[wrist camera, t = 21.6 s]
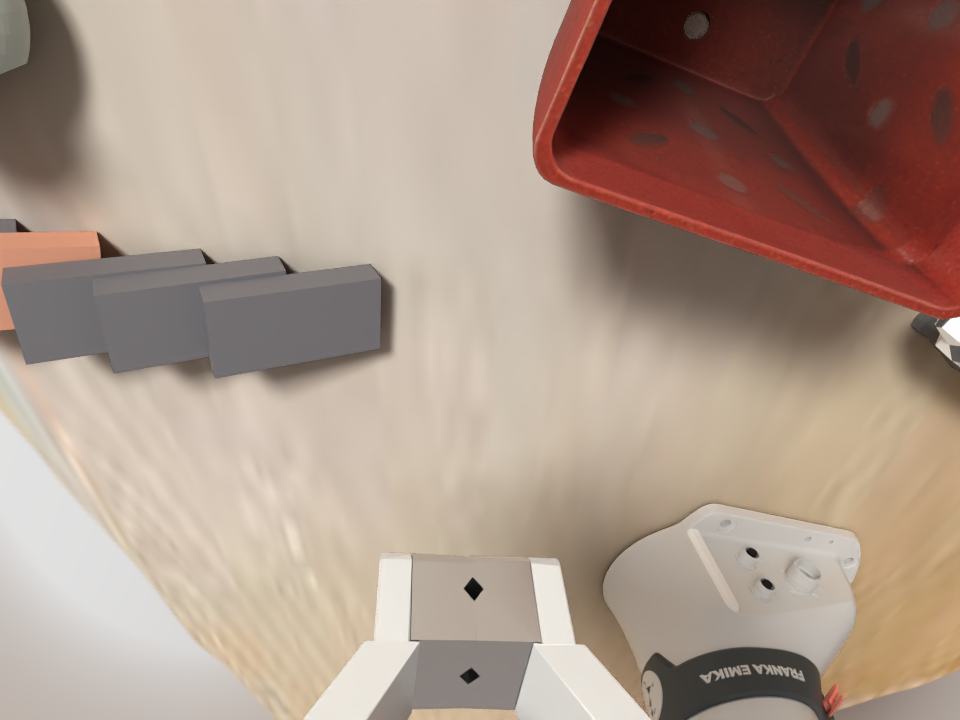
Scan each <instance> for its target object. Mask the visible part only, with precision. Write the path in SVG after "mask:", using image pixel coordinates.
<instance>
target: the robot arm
mask: <svg viewBox="0 0 960 720" xmlns="http://www.w3.org/2000/svg"><path fill="white" fill-rule="evenodd" d="M860 559H861V548H860V544H859V541H858V539H857V537H856V535H855V533H853V532H851V531H848V530H843V529H839V528H834V527H829V526H824V525H819V524H814V523H809V522H805V521H800V520H795V519H790V518H785V517H780V516H775V515H770V514H765V513H761V512H756V511H751V510H746V509H741V508H736V507H731V506H726V505H722V504H708V505H705V506H703V507H701V508H699V509H698V510H696V511H695V512H693V513H692V514H690V515H689V516H688V517H686V518H685V519H684V520H682V521H681V522H680V523H678V524H676V525H673V526H671V527H668V528H666V529H663V530H660V531H658V532H655V533H653V534H651V535H649V536H647V537H645V538H643V539H641V540H639V541H638V542H636V543H634V544H633V545H631V546H630V547H629V548H627V549H626V550H625V551H624V552H623V553H622V554H620V555H619V556H618V557H617V559H616V560H615V561H614V562H613V563H612V565H611V566H610V568H609V570H608V571H607V573H606V576H605V579H604V582H603V596H604V600H605V602H606V604H607V606H608V607H609V609H610V610H611V612H612V613H613V615H614V617H615V618H616V620H617V622H618V623H619V625H620V627H621V629H622V631H623V633H624V635H625V637H626V639H627V641H628V643H629V646H630V648H631V650H632V653H633V655H634V658H635V660H636V662H637V665H638V668H639V670H640V673H641V684H642V689H643V696H644V701H645V706H646V710H647V713H648V715H647V714H646V713H645V712H644V711H643V710H642V708H641V707H640V706H639V705H638V704H637V703H636V702H635V700H634V699H633V698H632V697H631V696H630V695H629V694H628V693H627V691H626V690H625V689H624V688H623V687H622V686H621V685H620V684H619V682H618V681H617V680H616V679H615V678H614V677H613V676H612V675H611V673H610V672H609V671H608V670H607V669H606V668H605V667H604V665H603V664H602V663H601V662H600V661H599V660H598V659H597V658H596V656H595V655H594V654H593V653H592V652H591V651H590V650H589V649H588V647H587V646H586V645H582V644H576V640H575V635H574V630H573V625H572V620H571V615H570V610H569V605H568V600H567V595H566V590H565V585H564V580H563V575H562V570H561V565H560V563H559V561H558V560H557V558H531V557H528V558H526V557H515V556H469V557H467V556H451V555H434V554H417V553H412V556H411V553H394V552H382V553H381V558H380V565H379V579H378V592H377V605H376V618H375V632H374V640H365V641H364V642H363V643H362V645H361V646H360V647H359V648H358V650H357V651H356V652H355V654H354V655H353V656H352V657H351V659H350V660H349V661H348V662H347V664H346V665H345V666H344V667H343V669H342V670H341V671H340V673H339V674H338V675H337V676H336V678H335V679H334V680H333V681H332V683H331V684H330V685H329V687H328V688H327V689H326V690H325V692H324V693H323V694H322V695H321V697H320V698H319V699H318V701H317V702H316V703H315V704H314V706H313V707H312V708H311V709H310V711H309V712H308V713H307V715H306V716H305V717H304V718H303V720H408V718H409V716H410V714H411V712H412V709H446V708H473V709H501V710H515V712H514V713H515V714H516V716H517V718H518V719H519V720H834V717H833V714H834V712H835V711H836V710H837V708H838V707H839V706H840V704H841V703H842V701H843V699H844V696H840V697H839V698H838V699H837V700H836V701H835V699H836V698H837V695H838V690H839V686H838V685H837V684H835V685H834V686H833V687H832V688H831V690H830V691H829V692H828V694H827V695H826V697H825V698H824V696H823V694H822V691H821V680H820V678H821V677H822V676H823V675H824V673H825V672H826V671H827V669H828V668H829V666H830V665H831V664H832V662H833V661H834V659H835V658H836V657H837V655H838V654H839V652H840V651H841V649H842V648H843V646H844V645H845V643H846V641H847V640H848V638H849V636H850V634H851V632H852V629H853V627H854V624H855V620H856V612H857V611H856V601H855V597H854V594H853V590H852V588H851V583H852V581H853V579H854V577H855V575H856V572H857V570H858V567H859V564H860Z"/></svg>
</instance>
